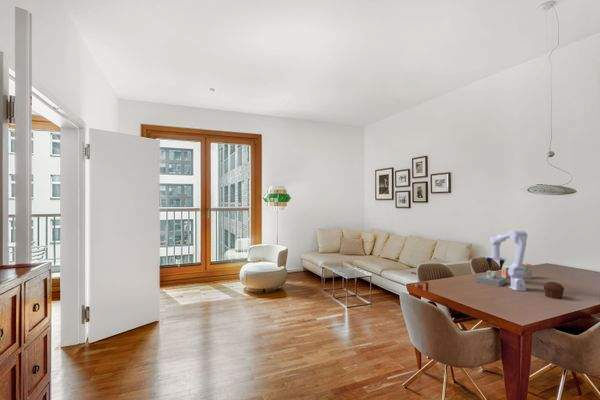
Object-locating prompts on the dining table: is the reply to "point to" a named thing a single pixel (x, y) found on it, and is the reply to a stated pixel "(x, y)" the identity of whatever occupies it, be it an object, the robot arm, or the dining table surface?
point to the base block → (492, 280)
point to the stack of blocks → (527, 266)
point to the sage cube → (491, 274)
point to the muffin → (553, 290)
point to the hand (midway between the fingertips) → (495, 268)
